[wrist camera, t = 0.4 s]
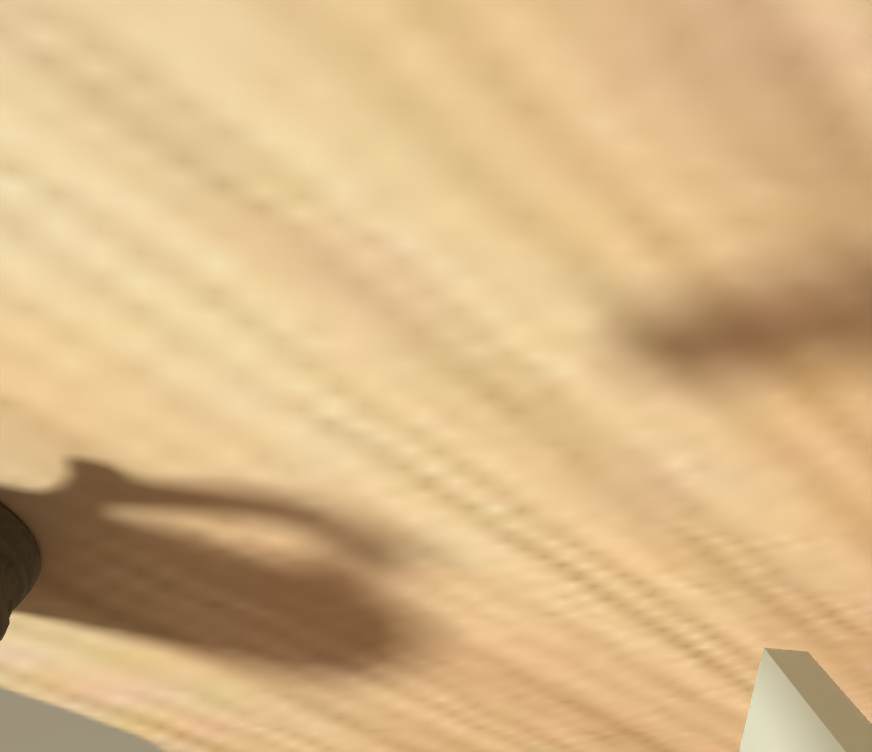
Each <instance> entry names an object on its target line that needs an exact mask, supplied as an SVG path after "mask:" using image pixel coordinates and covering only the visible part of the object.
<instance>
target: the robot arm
mask: <svg viewBox="0 0 872 752" xmlns="http://www.w3.org/2000/svg"><path fill="white" fill-rule="evenodd" d="M739 752H872V724H871V723H870V722H869V721H868V720H867V718H866V717H865V716H864V715H863V714H862V713H861V712H860V710H859V709H858V708H857V707H856V706H855V705H854V704H853V703H852V701H851V700H850V699H849V698H848V697H847V696H846V695H845V693H844V692H843V691H842V690H841V689H840V688H839V687H838V685H837V684H836V683H835V682H834V681H833V680H832V679H831V678H830V676H829V675H828V674H827V673H826V672H825V671H824V670H823V668H822V667H821V666H820V665H819V664H818V663H817V662H816V661H815V659H814V658H813V657H812V656H811V655H810V654H809V653H808V652H803V651H793V650H782V649H771V648H764V649H763V654H762V658H761V662H760V666H759V670H758V675H757V679H756V683H755V687H754V692H753V696H752V700H751V704H750V708H749V713H748V717H747V721H746V725H745V730H744V734H743V738H742V742H741V746H740V751H739Z"/></svg>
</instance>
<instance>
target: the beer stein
mask: <svg viewBox="0 0 872 752" xmlns="http://www.w3.org/2000/svg"><path fill="white" fill-rule="evenodd" d="M39 571H40V554H39V551H38V549H37V546H36V543H35V541H34V538H33V536H32V535H31V533H30V532H29V531H28V529H27V528H26V527H25V526H24V525H23V524H22V523H21V522H20V521H19V520H18V519H17V518H16V517H15V516H14V515H13V514H12V513H11V512H10V511H8V510H7V509H6V508H4V507H3V506H1V505H0V641H1V640H2V638H3V637H4V635H5V633H6V630H7V628H8V625H9V617H10V615H11V613H12V611H13V609H14V608H15V607H16V606H17V605H18V604H19V603H20V602H21V601H22V600H23V598H24V597H25V596H26V595H27V594H28V593H29V591H30V590H31V589H32V587H33V585H34V583H35V581H36V579H37V577H38V575H39Z"/></svg>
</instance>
